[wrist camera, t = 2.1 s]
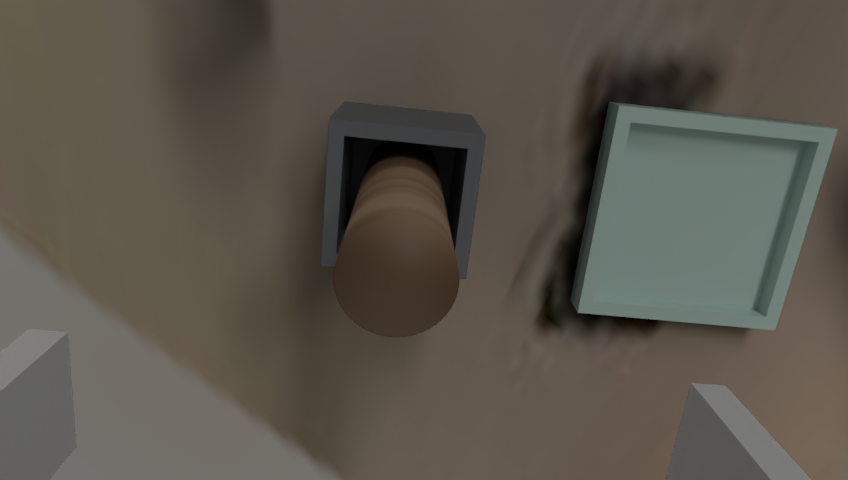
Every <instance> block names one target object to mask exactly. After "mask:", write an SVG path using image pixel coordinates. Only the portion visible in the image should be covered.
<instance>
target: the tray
mask: <svg viewBox="0 0 848 480" xmlns="http://www.w3.org/2000/svg"><path fill="white" fill-rule="evenodd" d="M837 130H838V129H835V128H831V127H827V126H822V125H818V124H809V123H800V122H791V121H782V120H772V119H763V118H754V117H744V116H735V115H726V114H717V113H707V112H698V111H689V110H679V109H670V108H661V107H652V106H642V105H633V104H624V103H614V102H609V104H608V109H607V114H606V120H605V125H604V130H603V135H602V140H601V145H600V150H599V155H598V161H597V166H596V171H595V176H594V181H593V186H592V191H591V196H590V202H589V207H588V212H587V217H586V222H585V227H584V232H583V237H582V243H581V248H580V253H579V258H578V263H577V268H576V273H575V279H574V284H573V289H572V294H571V299H570V301H571V302H572V304H573V306H574V307H575V309H576V311H577V312H578V313H586V314H597V315H609V316H620V317H631V318H642V319H654V320H665V321H676V322H687V323H698V324H710V325H721V326H732V327H743V328H755V329H766V330H776V326H777V323H778V320H779V317H780V314H781V310H782V307H783V304H784V301H785V298H786V294H787V291H788V288H789V285H790V281H791V278H792V275H793V272H794V269H795V265H796V262H797V259H798V256H799V253H800V249H801V246H802V243H803V240H804V237H805V233H806V230H807V227H808V224H809V220H810V217H811V214H812V211H813V208H814V204H815V201H816V198H817V195H818V192H819V188H820V185H821V182H822V179H823V175H824V172H825V169H826V166H827V163H828V159H829V156H830V153H831V150H832V147H833V143H834V140H835V137H836V134H837Z"/></svg>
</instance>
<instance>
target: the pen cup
mask: <svg viewBox="0 0 848 480" xmlns="http://www.w3.org/2000/svg"><path fill="white" fill-rule="evenodd" d="M485 136H486V135H485V133H484V132H483V131H482V129H481V128H480V126H479V125H478V124H477V122H476V121H475V120H474V118H473V117H472V115H466V114H456V113H447V112H437V111H428V110H418V109H409V108H399V107H390V106H380V105H371V104H361V103H352V102H344V103H343V104H342V105H341V106H340V108H339V109H338V110H337V111H336V112H335V113H334V114H333V115H332V116H331V117H330V118H329V132H328V149H327V166H326V183H325V200H324V217H323V235H322V252H321V266H327V267H335V264H336V261H337V257H338V254H339V251H340V248H341V245H342V242H343V238H344V235H345V232H346V229H347V226H348V223H349V220H350V217H351V213H352V210H353V207H354V204H355V201H356V198H357V195H358V191H359V188H360V185H361V182H362V179H363V176H364V173H365V169H366V166H367V163H368V160H369V158H370V156H371V154H372V152H373V151H374V150H375V149H376V148H377V147H378V146H379V145H380V144H381V143H383V142H385V141H387V140H388V141H398V142H407V143H417V144H424V145H425V146H426V147H427V148H428V149H429V150H430V151H431V152H432V154H433V156H434V158H435V160H436V163H437V167H438V172H439V177H440V182H441V187H442V192H443V197H444V201H445V206H446V211H447V216H448V221H449V226H450V231H451V236H452V241H453V245H454V250H455V255H456V260H457V265H458V270H459V279H466V275H467V268H468V260H469V253H470V246H471V238H472V231H473V224H474V217H475V209H476V202H477V195H478V187H479V180H480V173H481V165H482V158H483V151H484V143H485Z"/></svg>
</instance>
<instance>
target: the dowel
mask: <svg viewBox="0 0 848 480" xmlns="http://www.w3.org/2000/svg"><path fill="white" fill-rule="evenodd" d="M458 288H459V270H458V265H457V260H456V255H455V250H454V245H453V241H452V236H451V231H450V226H449V221H448V216H447V211H446V206H445V201H444V197H443V192H442V187H441V182H440V177H439V172H438V167H437V163H436V160H435V158H434V156H433V154H432V152H431V151H430V150H429V149H428V148H427V147H426V146H425V145H424V144H417V143H407V142H398V141H388V140H387V141H385V142H383V143H381V144H380V145H379V146H378V147H377V148H376V149H375V150H374V151H373V152H372V154H371V156H370V158H369V160H368V163H367V166H366V169H365V173H364V176H363V179H362V182H361V185H360V188H359V191H358V195H357V198H356V201H355V204H354V207H353V210H352V213H351V217H350V220H349V223H348V226H347V229H346V232H345V235H344V238H343V242H342V245H341V248H340V251H339V254H338V257H337V261H336V264H335V268H334V289H335V293H336V296H337V299H338V301H339V303H340V305H341V307H342V309H343V310H344V312H345V313H346V314H347V315H348V316H349V317H350V318H351V319H352V320H353V321H354V322H355V323H356V324H358V325H359V326H360V327H362V328H364V329H366V330H367V331H370V332H372V333H375V334H378V335H382V336H388V337H406V336H411V335H415V334H418V333H421V332H424V331H426V330H428V329H430V328H431V327H433V326H434V325H436V324H437V323H438V322H439V321H441V320H442V319H443V318H444V316H445V315H446V314H447V313H448V312H449V310H450V309H451V307H452V305H453V303H454V301H455V299H456V296H457V293H458Z"/></svg>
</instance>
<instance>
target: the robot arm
mask: <svg viewBox="0 0 848 480" xmlns="http://www.w3.org/2000/svg"><path fill="white" fill-rule="evenodd" d="M75 448H76V434H75V420H74V407H73V394H72V380H71V367H70V353H69V339H68V332H60V331H47V330H35V329H29V330H27V331H26V332H25V333H24V334H23V335H21V336H20V337H18V338H17V339H16V340H15V341H13V342H12V343H11V344H9V345H8V346H7V347H6V348H4V349H3V350H2V351H0V480H50V479H51V477H52V476H53V475H54V474H55V472H56V471H57V470H58V469H59V468H60V466H61V465H62V464H63V463H64V461H65V460H66V459H67V458H68V456H69V455H70V454H71V453H72V451H73V450H74V449H75ZM665 480H811V479H810V478H809V477H808V476H807V474H806V473H805V472H804V471H803V470H802V469H801V468H800V467H799V466H798V465H797V463H796V462H795V461H794V460H793V459H792V458H791V457H790V456H789V455H788V454H787V453H786V451H785V450H784V449H783V448H782V447H781V446H780V445H779V444H778V443H777V442H776V440H775V439H774V438H773V437H772V436H771V435H770V434H769V433H768V432H767V431H766V430H765V428H764V427H763V426H762V425H761V424H760V423H759V422H758V421H757V420H756V419H755V417H754V416H753V415H752V414H751V413H750V412H749V411H748V410H747V409H746V408H745V407H744V405H743V404H742V403H741V402H740V401H739V400H738V399H737V398H736V397H735V396H734V394H733V393H732V392H731V391H730V390H729V389H728V388H727V387H726V386H723V385H710V384H698V383H691V386H690V390H689V393H688V397H687V401H686V405H685V408H684V412H683V416H682V420H681V423H680V427H679V431H678V434H677V438H676V442H675V446H674V449H673V453H672V457H671V461H670V464H669V468H668V472H667V476H666V479H665Z"/></svg>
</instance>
